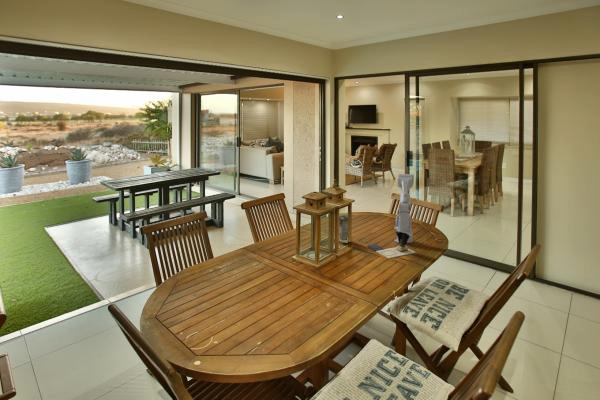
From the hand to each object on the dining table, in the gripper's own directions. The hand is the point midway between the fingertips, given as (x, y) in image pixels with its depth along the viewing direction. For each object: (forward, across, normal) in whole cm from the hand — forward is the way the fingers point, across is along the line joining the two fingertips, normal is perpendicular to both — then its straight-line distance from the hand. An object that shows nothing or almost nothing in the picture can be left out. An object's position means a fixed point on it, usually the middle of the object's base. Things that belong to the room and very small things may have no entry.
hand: (402, 244), depth 217 cm
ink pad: (+4, -11, -12) cm, 17 cm away
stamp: (+4, 0, 0) cm, 4 cm away
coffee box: (+4, -31, -23) cm, 39 cm away
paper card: (+4, 0, -5) cm, 7 cm away
